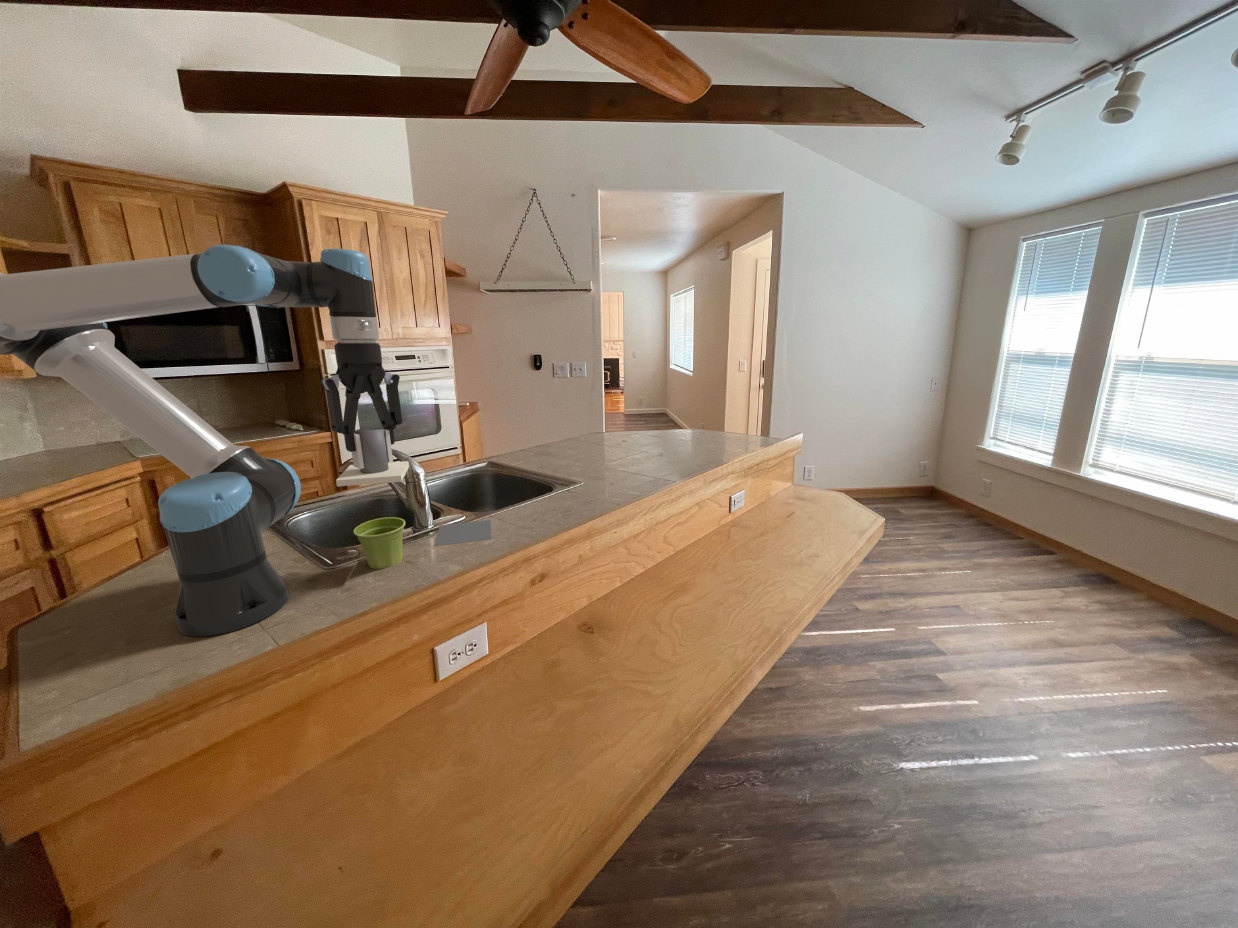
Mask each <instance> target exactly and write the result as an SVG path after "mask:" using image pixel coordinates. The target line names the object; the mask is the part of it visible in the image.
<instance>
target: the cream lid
mask: <svg viewBox="0 0 1238 928" xmlns="http://www.w3.org/2000/svg"><path fill="white" fill-rule="evenodd" d="M355 434H359V435H360V441H361V449H362V456H363V463H364V468H362V469H359V468H356V467H354V466H353V464H350V465H349V466H348V467H347V468H346V469H345V470H344V471H342V473H341V474H340V475H339V476H338V477H337V479H335V482H336V487H346V486H347V487H348V486H358V485H359V486H361V485H362V486H363V485H372V484H374V485H376V484H387V483H401V482H403V480H404V478H405V476H406V473H407V472H408V470H409V467H410V463H409V461H408V460H406V461H405V460H404V461H393V462H391V463H389V462H388V459H387V451H386V443H385V436H384V428H383V427H366V428H365V427H364V428H358V429H355Z"/></svg>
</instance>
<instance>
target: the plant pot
mask: <svg viewBox="0 0 1238 928" xmlns="http://www.w3.org/2000/svg"><path fill="white" fill-rule="evenodd" d="M405 526H406V521H405V519H403V518H400V517H393V516H392V517H381V518H375V519H371V520H368V521H365V522H363V523H360V524H359V525H357V526H356V527H355V528H354V529H353V535H354V536H355V537H356V538H357V540H358V541H359V542H360V546H361V547H362V550H363V553H364V557H365V558H366V562H367V564H368V566H369V568H371V569H375V570H380V569H387V568H391V567H394V566H396V565H397V564H399V563H400V562H402V560H403V535H404V534H403V533H404V530H405V528H404V527H405Z"/></svg>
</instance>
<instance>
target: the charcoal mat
mask: <svg viewBox="0 0 1238 928" xmlns="http://www.w3.org/2000/svg"><path fill="white" fill-rule="evenodd" d="M491 526H492V520H491V519H485V520H478V521H469V522H468V521H467V522H458V523H450V524H449V523H447V524H442V525H441V524H440V525H439V526H438V530H437V531H438V532H437V535H436V538H435V542H434V547H438V546H446V545H452V544H453V545H454V544H455V545H456V544H461V543H463V544H464V543H471V542H472V543H473V542H479V541H488V540H492V527H491Z"/></svg>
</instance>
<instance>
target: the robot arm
mask: <svg viewBox="0 0 1238 928" xmlns="http://www.w3.org/2000/svg"><path fill="white" fill-rule="evenodd" d="M370 266H371V265H370V260H369V258H368V256H367V254H365V253H363V252H361V251H360V250H359V251H358V250H355V249H346V248H326V249H323V250H321V252H320V258H319V261H312V262H309V261H294V260H293V261H292V260H291V261H288V260H283V259H280V258H276V257H273V256H269V255H266V254H263V253H261V252H257V251H254V250H252V249H250V248H247V247H243V246H241V245H229V244H216V245H212V246H211V247H208V248H207V249H205V251H203V252H201V253H192V254H191V253H190V254H181V255H173V256H171V255H170V256H162V257H155V258H154V257H153V258H152V257H151V258H145V259H144V258H143V259H136V260H125V261H115V262H107V263H98V264H88V265H81V266H79V265H78V266H69V267H63V268H61V267H60V268H53V269H44V270H43V269H42V270H33V271H25V272H15V273H6V274H5V273H4V272H1V271H0V355H13V356H14V357H16V358H17V359H19V360H20V361H22V362H23V363H24V364H25V365H27V366H28V367H29V368H31V369H32V370H33V371H34V372H36V373H37V374H39V375H41V376H44V377H56V378H57V377H59V378H61V379H63V381H65V382H66V383H68V384H69V385H70V386H71V387H73V388H74V389H76V390H77V391H78V392H80V393H81V394H82V395H83V396H85V398H87V399H89V400H90V401H91V402H92V403H93V404H95V405H96V406H98V407H99V408H100V409H102V410H103V411H104V412H106V414H108V415H110V417H112V418H113V419H115V421H118V423H120V424H121V425H122V426H123V427H125V428H126V429H127V430H129V431H130V432H131V433H133V434H134V435H135V436H137V437H138V438H139V439H141V441H143V442H144V443H146V444H147V445H148V446H149V447H151V448H152V449H154V450H155V451H156V452H157V453H159V454H160V455H161V456H163V457H164V459H165V458H166V460H168V461H169V462H171V463H172V464H173V465H174V466H176V467H177V468H178V469H179V470H181V471H182V472H184V473H185V474H186V475H187V476H189V477H190V478H187V479H183V480H182V481H179V482H175V484H173V485H171V486H169V487H168V488H166V489H165V490H163V492H162V493H161V494H160V495H159V498H158V501H157V502H158V503H157V506H158V511H159V522H160V524H161V525H162V527H163V529H164V530H163V531H164V532H165V536H166V539H167V543H168V546H169V549H170V550H169V551H170V552H171V556H172V559H173V563H174V566H175V569H176V572H177V576H178V579H179V589H178V590H179V591H178V596H177V602H176V609H175V615H174V616H175V621H176V625H177V628H178V631H179V633H181V634H182V635H185V636H189V637H211V636H217V635H221V634H226V633H230V632H233V631H234V632H235V631H238V630H241V629H243V628H246V627H248V626H249V627H250V626H251V625H254V624H256V623H258V622H260V621H263V620H264V619H267V618H268V617H270V616H271V615H274V614H275V613H276V612H278V611H279V610H280V609H282V607H283V606H284V605H286V603H287V602H288V600H289V592H288V590H287V589H288V588H287V584H286V583H285V581H284V580H283V578H282V577H281V576H280V574H279V573H278V572H277V570H276V569H275V568H274V567H273V565H272V564H271V563H270V561H269V559H268V556H267V552H266V547H265V545H264V540H263V535H262V533H263V532H265V531H266V530H267V529H268V528H269V527H271V526H272V525H273V524H275V523H276V522H278V521H279V520H281V519H283V518H284V517H286V516H287V515H288V514H289V513H290V512H291V511H292V509H294V508H295V506H296V505H297V503H298V501H299V500H300V497H301V491H302V490H301V487H302V485H301V484H302V483H301V481H300V478H299V476H298V473H296V471H295V470H294V469H293V468H292V467H291V466H290V465H289V464H287V463H286V462H284V461H281V460H279V459H277V458H267V457H263V456H262V455H260V453H258V451H256V450H255V449H253V448H252V447H251V446H249V445H235V444H233V442H232V441H230V440H229V439H228V438H227V437H225V436H224V435H223V434H221V433H220V432H219V431H218V430H216V429H215V428H214V427H213V426H211V425H210V424H209V423H208V422H206V421H205V420H204V419H203V418H202V417H200V415H198V414H197V413H196V412H195V411H193V410H192V409H191V408H189V407H188V406H187V405H186V404H184V403H183V402H182V401H181V400H180V399H179V398H177V397H176V396H175V395H173V393H171V392H170V391H169V390H167V389H166V388H165V387H164V386H163V385H161V384H160V383H159V382H158V381H156V379H154V378H153V377H152V376H150V375H149V374H148V373H147V372H145V371H144V370H143V369H141V368H140V367H139V366H138V365H137V364H135V363H134V362H133V361H132V360H131V359H129V358H128V357H127V356H126V355H125V354H124V353H122V352H121V351H120V350H119V349H117V348H116V347H115V342H116V341H115V339H116V336H115V334H114V333H113V332H112V331H111V330H110V329H108V324H107V322H115V321H123V320H129V319H130V320H131V319H136V318H137V319H138V318H144V317H147V318H148V317H152V316H162V315H169V314H175V313H177V314H178V313H183V312H185V313H186V312H191V311H199V310H200V311H201V310H205V309H215V308H226V307H234V306H242V305H249V304H250V305H251V304H252V305H253V304H254V305H256V306H259V307H268V308H276V309H281V308H328V311H329V314H328V315H329V319H330V327H331V334H332V339H333V340H335V341H337V342H336V343H335V344H334V345H333V348H334V354H335V361H336V366H337V369H336V371H335V374H334V375H332V376H329V377H327V378H326V377H323V378H321V379H320V383H321V385H322V387H323V389H324V390H325V394H326V399H327V408H328V414H329V421H330V426H331V427H330V428H331V429H330V430H331V431H332V432H334V433H338V434H341V435H343V437H344V443H345V444H344V445H345V449H346V451H347V452H350V453H351V458H352V465H353V466H354V467H356V468H359V469H362V468H364V463H363V456H362V449H361V441H360V435H359V434H355V430H356V425H357V418H358V417H357V416H358V410H359V401H360V399H361V395H362V394H365V393H367V395H368V396H369V397H370V400H371V402H372V404H373V407H374V409H375V411H376V413H377V414H376V415H377V417H378V418H379V419H378V420H379V422H380V424H381V426H382V428H383V429H384V436H385V443H386V451H387V459H388V462H389V463H391V462H394V459H393V450H392V445H395V442H396V441H395V432H394V430H395V429H396V428H397V426H398V425H399V426H400V425H401V424H402V423H403V415H402V410H401V401H400V393H399V383H400V377H401V376H400V375H399V374H396V373H395V374H394V373H389V372H386V370H385V369H384V366H383V357H382V356H383V355H382V348H381V344H380V343H378V342H377V341H378V340H379V339H380V334H379V326H378V324H379V323H378V318H377V311H376V303H375V294H374V293H375V292H374V278H373V277H372V273H371V272H372V271H371V267H370ZM382 382H384V383H385V392H386V398H387V404H386V402H385V399H384V395H383V394H384V393H383V391H382V387H381V384H382ZM340 383H341V384H342V385H343V386H344V387H345V391H344V393H345V395H344V397H345V405H344V413H342V412H343V411H342V405H341V396H340V390H339V387H340Z"/></svg>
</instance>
